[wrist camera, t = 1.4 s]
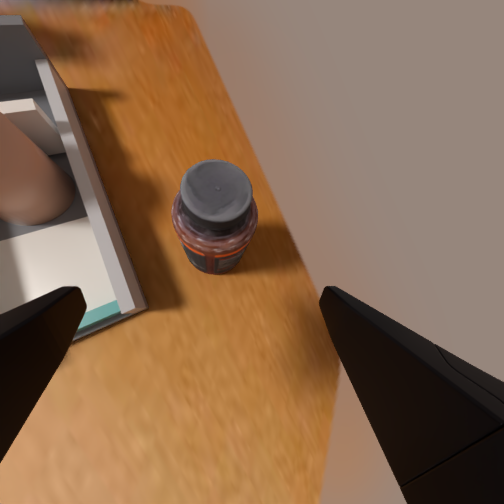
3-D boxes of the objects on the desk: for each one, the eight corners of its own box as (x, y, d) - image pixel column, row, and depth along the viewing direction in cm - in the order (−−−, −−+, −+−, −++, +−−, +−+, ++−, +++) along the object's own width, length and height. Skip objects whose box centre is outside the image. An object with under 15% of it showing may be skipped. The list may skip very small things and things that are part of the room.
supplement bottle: (251, 242, 22) (288, 182, 12) (222, 286, 20) (235, 263, 10) (208, 213, 22) (205, 127, 11) (174, 255, 20) (133, 196, 9)
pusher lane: (149, 307, 18) (121, 307, 13) (2, 372, 15) (-123, 412, 9) (67, 87, 23) (20, 15, 17) (-59, 100, 20) (-167, 16, 14)
